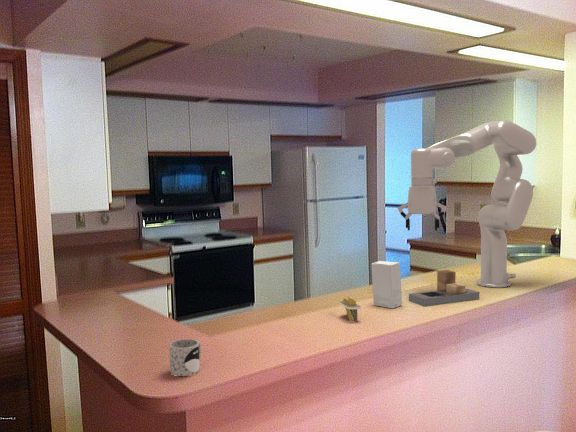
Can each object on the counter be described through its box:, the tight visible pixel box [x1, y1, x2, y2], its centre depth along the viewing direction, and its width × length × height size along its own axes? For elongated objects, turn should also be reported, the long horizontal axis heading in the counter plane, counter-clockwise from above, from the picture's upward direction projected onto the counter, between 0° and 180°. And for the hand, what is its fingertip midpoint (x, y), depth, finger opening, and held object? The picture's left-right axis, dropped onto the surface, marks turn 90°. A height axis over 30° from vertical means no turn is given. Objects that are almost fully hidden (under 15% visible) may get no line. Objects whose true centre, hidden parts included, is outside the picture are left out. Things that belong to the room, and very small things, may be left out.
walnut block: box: [436, 269, 456, 290], centre depth 196 cm, size 5×5×8 cm
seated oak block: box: [446, 282, 466, 294], centre depth 186 cm, size 5×5×5 cm
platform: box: [339, 296, 362, 322], centre depth 163 cm, size 12×18×7 cm, turn 17°
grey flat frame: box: [408, 287, 480, 307], centre depth 185 cm, size 23×9×2 cm, turn 111°
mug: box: [168, 338, 202, 377], centre depth 123 cm, size 10×7×7 cm, turn 158°
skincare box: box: [371, 260, 403, 309], centre depth 178 cm, size 8×6×15 cm
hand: (422, 230), depth 192 cm, fingers open, 9 cm apart
